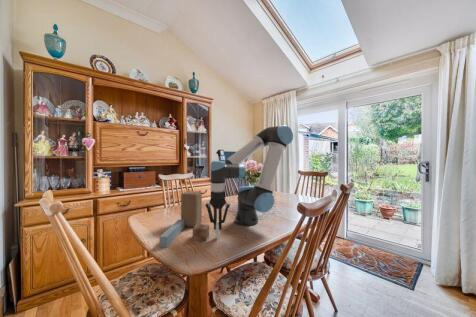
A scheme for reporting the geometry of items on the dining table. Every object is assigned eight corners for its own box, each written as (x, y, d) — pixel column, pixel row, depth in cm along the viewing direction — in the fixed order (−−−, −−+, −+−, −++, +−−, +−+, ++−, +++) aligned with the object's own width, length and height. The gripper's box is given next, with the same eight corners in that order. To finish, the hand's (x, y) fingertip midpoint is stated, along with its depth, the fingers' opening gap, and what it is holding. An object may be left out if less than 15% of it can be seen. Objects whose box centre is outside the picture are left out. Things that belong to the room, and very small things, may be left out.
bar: (184, 228, 118) (184, 219, 118) (167, 247, 94) (167, 236, 94) (178, 228, 119) (178, 219, 118) (159, 247, 95) (159, 236, 94)
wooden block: (195, 227, 119) (195, 194, 119) (180, 226, 121) (180, 193, 121) (202, 222, 129) (202, 191, 128) (187, 220, 131) (187, 190, 130)
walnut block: (209, 235, 109) (209, 224, 108) (206, 241, 102) (206, 229, 101) (196, 235, 109) (196, 224, 109) (192, 240, 102) (192, 229, 102)
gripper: (231, 189, 107) (230, 233, 108) (207, 189, 108) (206, 232, 109) (229, 192, 100) (229, 239, 101) (203, 191, 101) (203, 238, 101)
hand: (217, 235), depth 105 cm, fingers closed
